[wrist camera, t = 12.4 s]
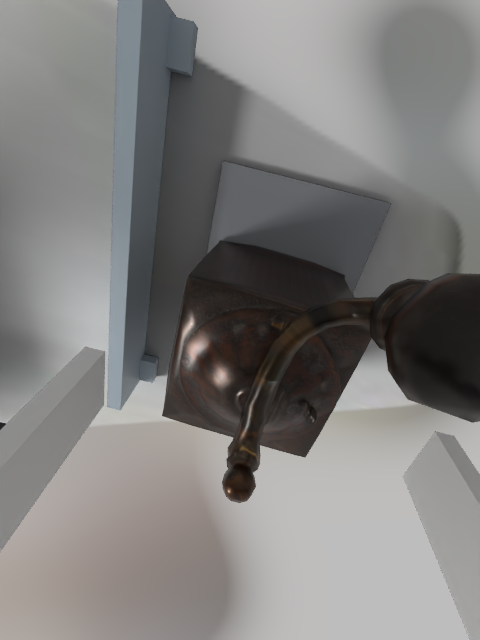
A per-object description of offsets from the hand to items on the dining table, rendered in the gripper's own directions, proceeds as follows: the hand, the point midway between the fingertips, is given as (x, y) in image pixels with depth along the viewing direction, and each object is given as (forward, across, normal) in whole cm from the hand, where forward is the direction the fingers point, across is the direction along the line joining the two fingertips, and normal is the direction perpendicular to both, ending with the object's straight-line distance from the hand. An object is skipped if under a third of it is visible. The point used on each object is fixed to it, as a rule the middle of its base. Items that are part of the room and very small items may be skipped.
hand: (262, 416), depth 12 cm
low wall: (+15, -10, +1) cm, 19 cm away
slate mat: (+15, +1, 0) cm, 15 cm away
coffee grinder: (+15, +1, 0) cm, 15 cm away
